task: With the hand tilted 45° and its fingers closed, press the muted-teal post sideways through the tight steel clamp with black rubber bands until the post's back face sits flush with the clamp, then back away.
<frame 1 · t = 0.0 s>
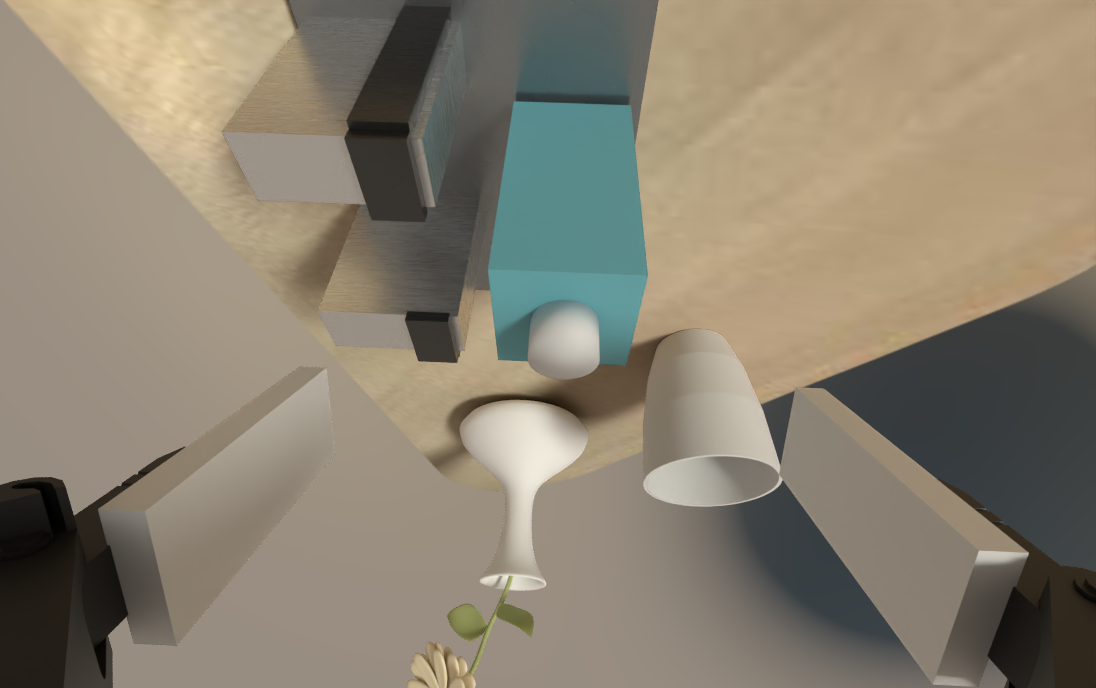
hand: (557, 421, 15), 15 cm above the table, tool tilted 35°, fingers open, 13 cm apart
teal post: (567, 240, 21), point 7 cm above the table, slide at 7.0 cm
steel clamp: (412, 139, 25), on the table
flower in vase: (517, 418, 47), on the table
cup: (690, 347, 37), on the table
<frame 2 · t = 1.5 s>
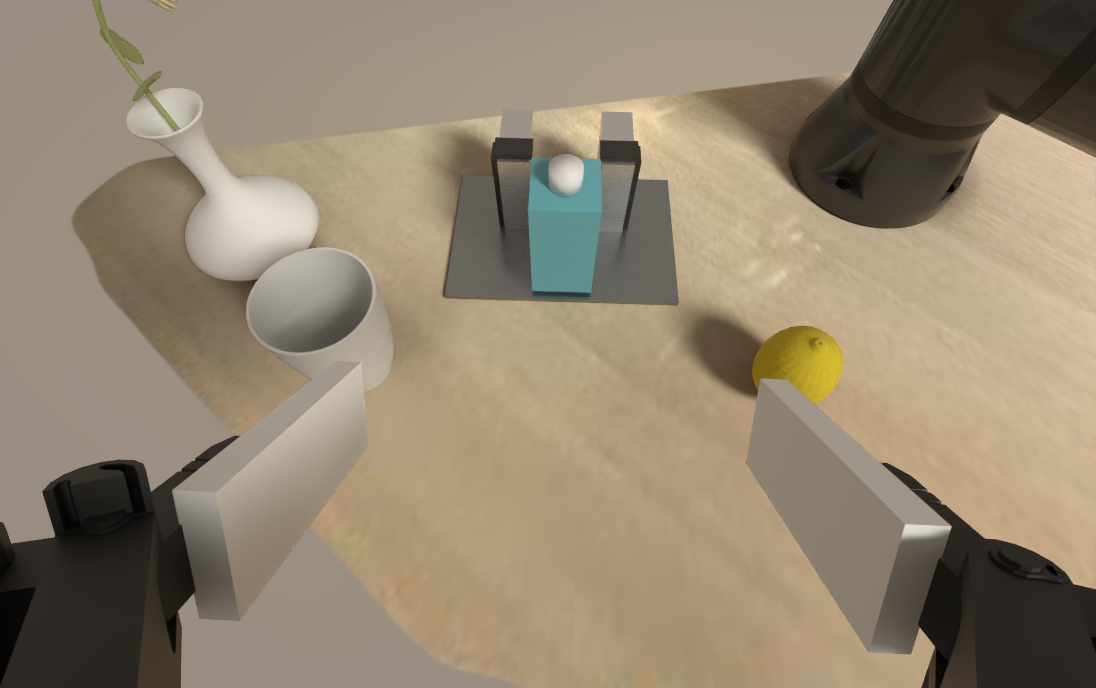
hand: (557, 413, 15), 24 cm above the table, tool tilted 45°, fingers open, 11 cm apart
lemon: (772, 390, 41), on the table
teal post: (563, 223, 40), point 7 cm above the table, slide at 7.0 cm
steel clamp: (563, 207, 49), on the table
flower in vase: (262, 234, 48), on the table
cup: (362, 365, 42), on the table
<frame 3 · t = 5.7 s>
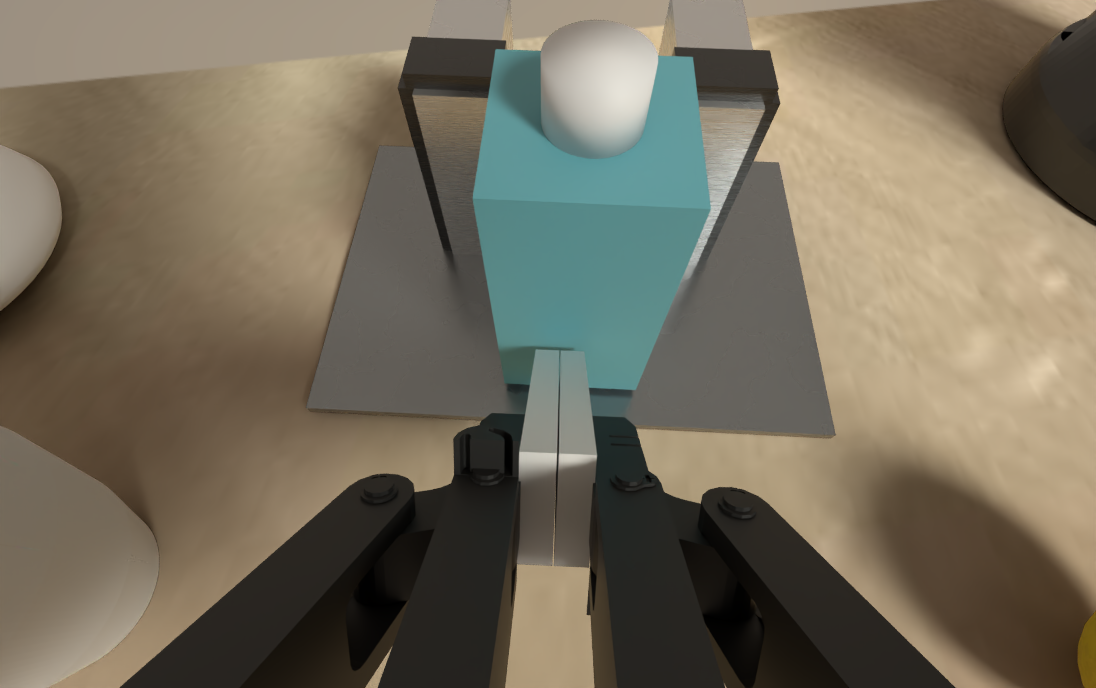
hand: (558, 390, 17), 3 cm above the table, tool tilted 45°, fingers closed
teal post: (581, 237, 16), point 7 cm above the table, slide at 6.2 cm, touching gripper
steel clamp: (575, 213, 25), on the table
cup: (85, 587, 17), on the table
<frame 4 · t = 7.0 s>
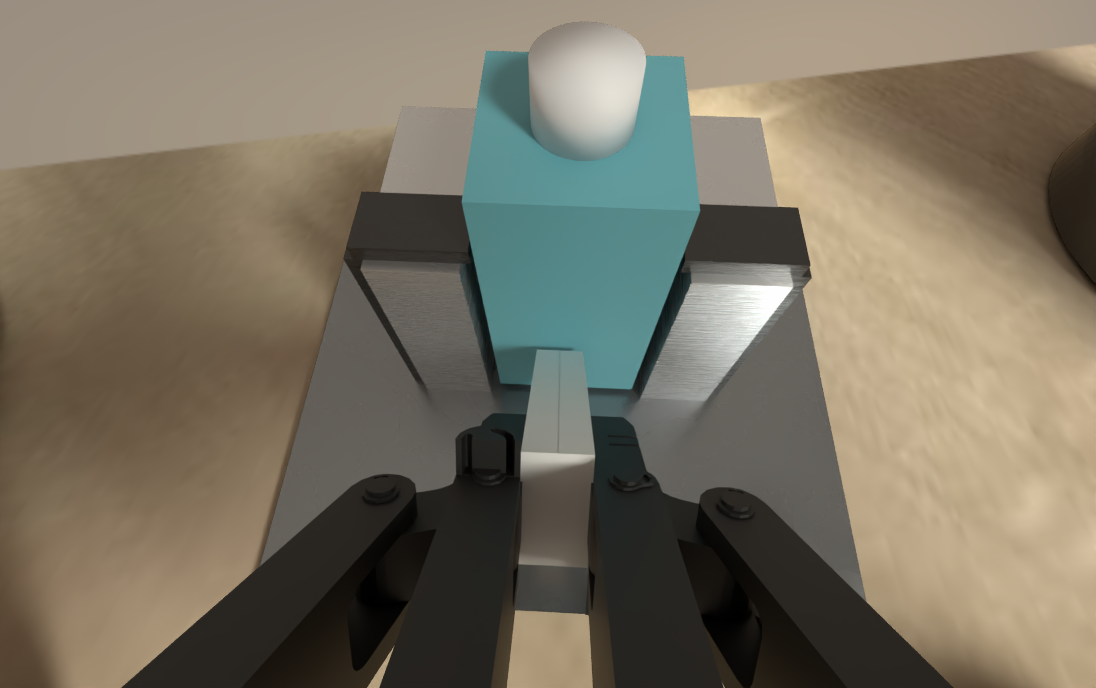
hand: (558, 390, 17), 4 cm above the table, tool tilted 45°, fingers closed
teal post: (574, 237, 16), point 7 cm above the table, slide at -0.2 cm, touching gripper
steel clamp: (567, 331, 22), on the table
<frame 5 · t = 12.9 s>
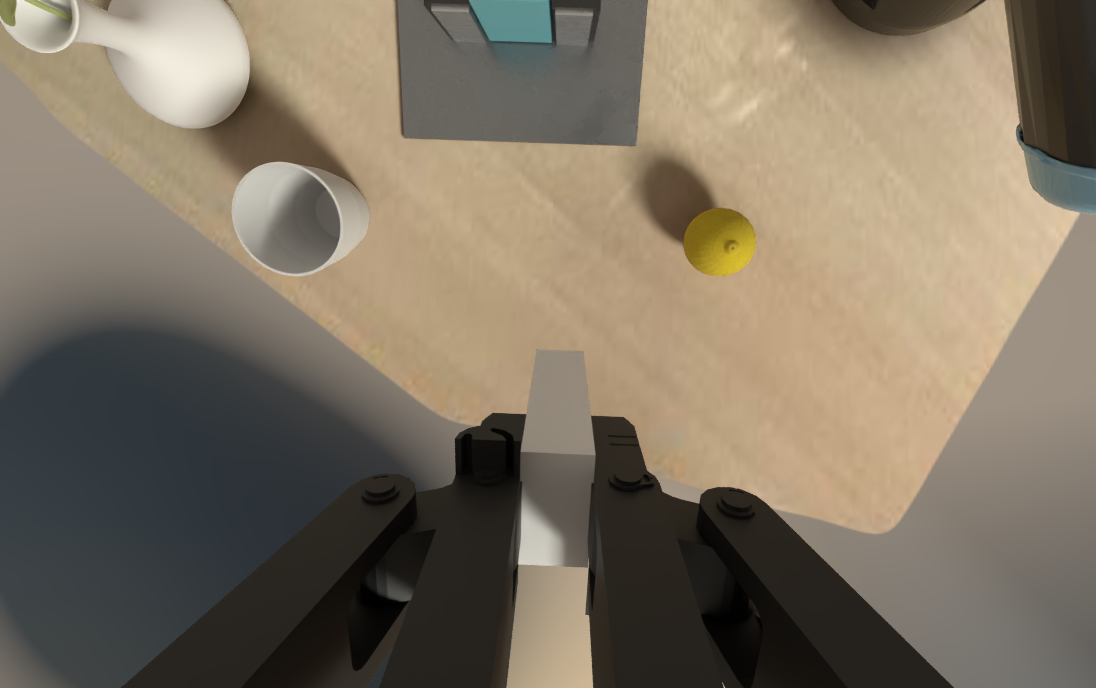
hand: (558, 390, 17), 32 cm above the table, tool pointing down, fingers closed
lemon: (705, 237, 47), on the table
steel clamp: (522, 2, 42), on the table
flower in vase: (189, 48, 44), on the table
cup: (344, 212, 47), on the table
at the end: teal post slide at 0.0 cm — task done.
